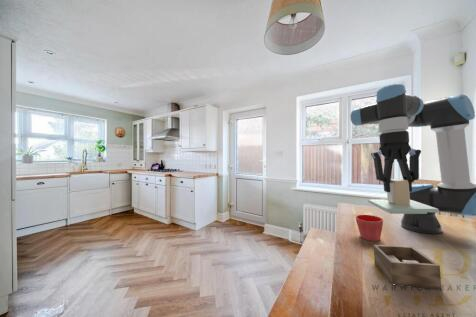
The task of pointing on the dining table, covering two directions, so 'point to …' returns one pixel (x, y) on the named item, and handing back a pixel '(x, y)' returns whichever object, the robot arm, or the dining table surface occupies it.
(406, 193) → the lid
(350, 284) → the dining table surface
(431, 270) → the crate
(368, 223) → the flower pot
